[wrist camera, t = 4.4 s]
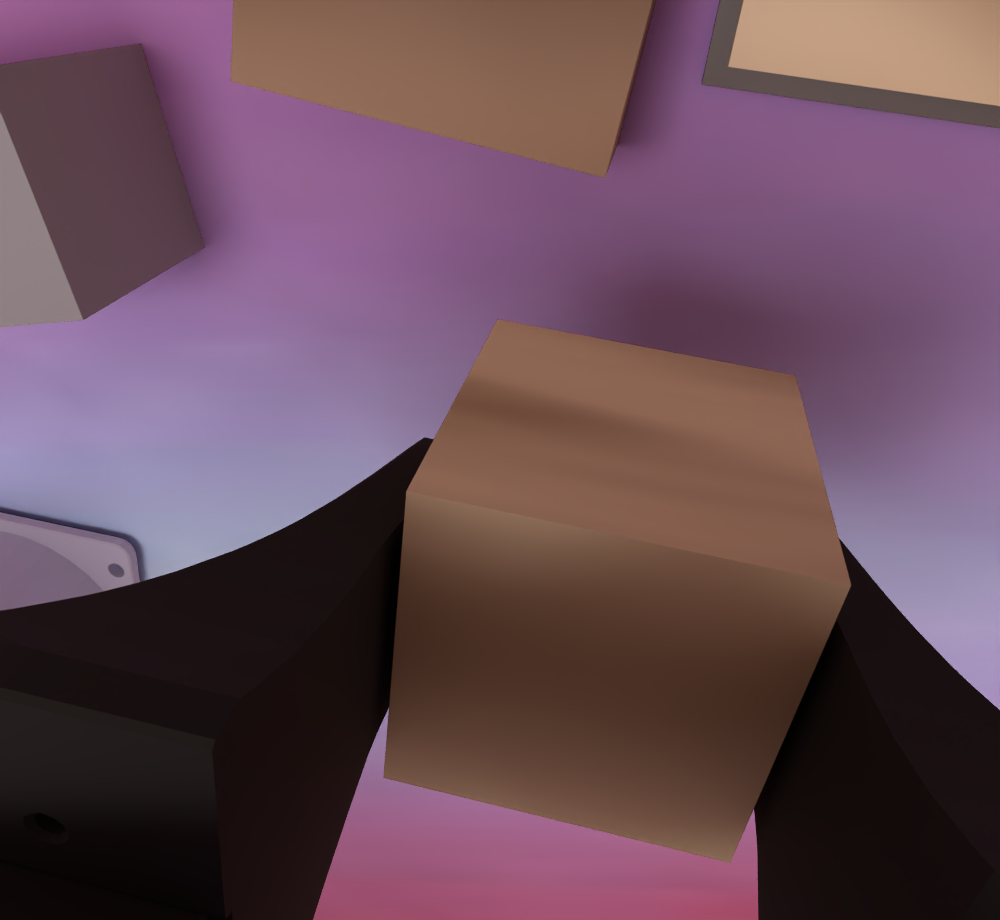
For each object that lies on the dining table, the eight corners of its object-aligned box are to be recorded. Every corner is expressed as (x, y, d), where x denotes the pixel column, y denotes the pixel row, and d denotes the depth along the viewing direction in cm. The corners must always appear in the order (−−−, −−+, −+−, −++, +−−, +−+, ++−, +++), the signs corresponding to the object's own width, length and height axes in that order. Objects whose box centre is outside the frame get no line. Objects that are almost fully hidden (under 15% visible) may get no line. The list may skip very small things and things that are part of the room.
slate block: (205, 246, 21) (83, 320, 17) (48, 262, 22) (-105, 336, 18) (142, 43, 19) (-18, 67, 14) (-29, 71, 20) (-226, 102, 15)
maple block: (717, 607, 15) (729, 862, 11) (467, 552, 15) (383, 777, 11) (794, 375, 13) (850, 585, 8) (498, 319, 13) (406, 491, 9)
